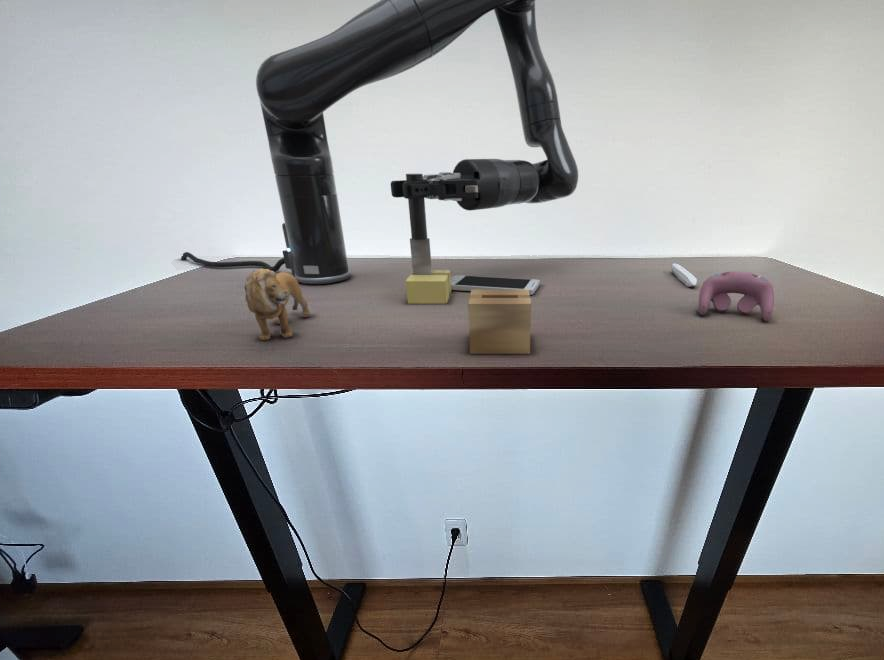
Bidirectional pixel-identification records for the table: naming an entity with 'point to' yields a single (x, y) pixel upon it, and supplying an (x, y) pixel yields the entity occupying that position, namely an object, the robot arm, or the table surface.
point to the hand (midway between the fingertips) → (398, 189)
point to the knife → (419, 233)
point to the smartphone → (493, 283)
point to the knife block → (499, 321)
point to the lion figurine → (273, 299)
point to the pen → (684, 275)
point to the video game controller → (737, 282)
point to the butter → (429, 288)
